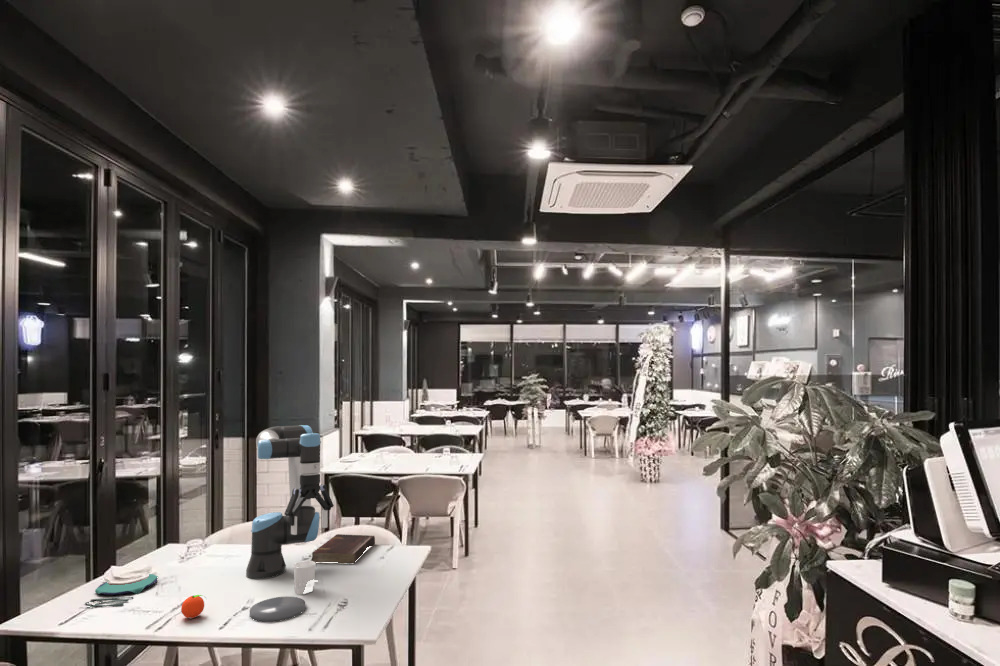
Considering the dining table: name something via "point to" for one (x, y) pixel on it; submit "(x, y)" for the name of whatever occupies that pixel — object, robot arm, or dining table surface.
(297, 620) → the dining table surface
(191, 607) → the clementine
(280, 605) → the slate plate
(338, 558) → the hardback book
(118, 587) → the cutlery set
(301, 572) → the white cup
